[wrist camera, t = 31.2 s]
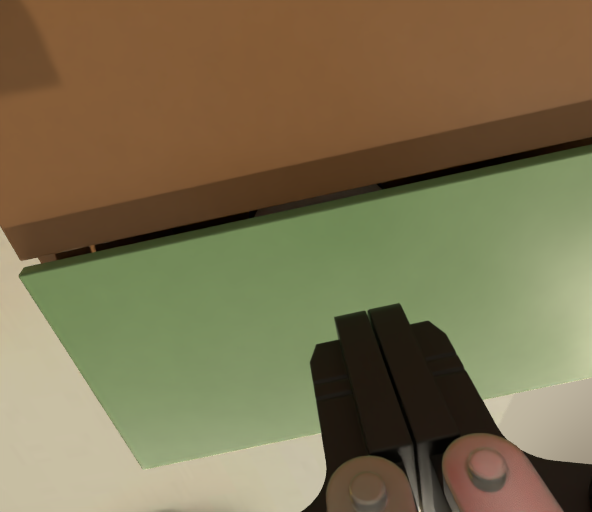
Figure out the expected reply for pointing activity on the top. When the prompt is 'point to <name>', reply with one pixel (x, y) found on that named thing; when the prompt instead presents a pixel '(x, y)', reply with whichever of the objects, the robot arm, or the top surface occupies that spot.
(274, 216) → the flap
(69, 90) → the carton
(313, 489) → the top surface
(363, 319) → the robot arm
